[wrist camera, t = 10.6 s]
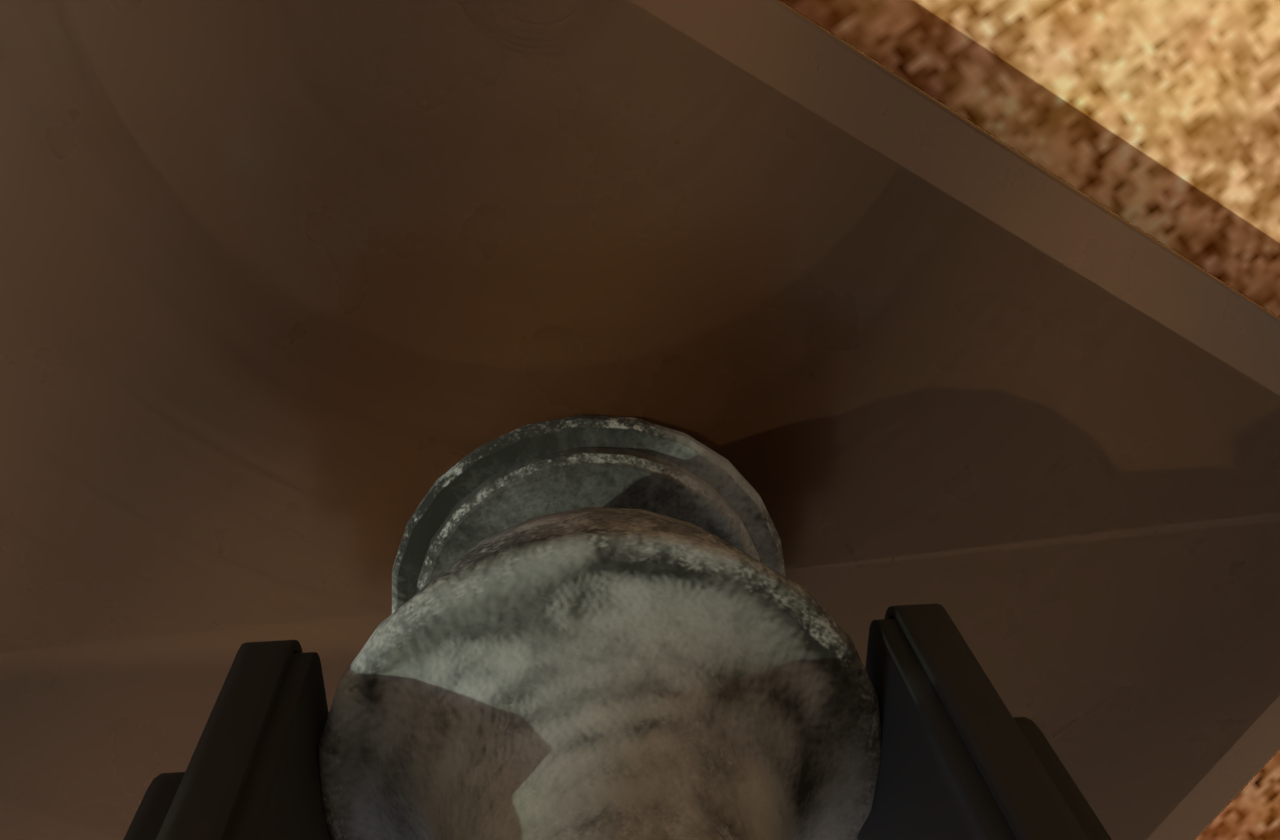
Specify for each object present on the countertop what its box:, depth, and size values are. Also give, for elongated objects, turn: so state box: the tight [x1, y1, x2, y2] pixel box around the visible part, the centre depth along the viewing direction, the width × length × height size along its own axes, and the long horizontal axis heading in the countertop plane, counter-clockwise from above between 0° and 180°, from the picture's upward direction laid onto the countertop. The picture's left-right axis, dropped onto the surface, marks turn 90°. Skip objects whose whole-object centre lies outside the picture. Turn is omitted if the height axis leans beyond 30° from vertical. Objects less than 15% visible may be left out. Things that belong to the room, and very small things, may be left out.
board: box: [0, 0, 1280, 840], centre depth 15 cm, size 22×15×2 cm
